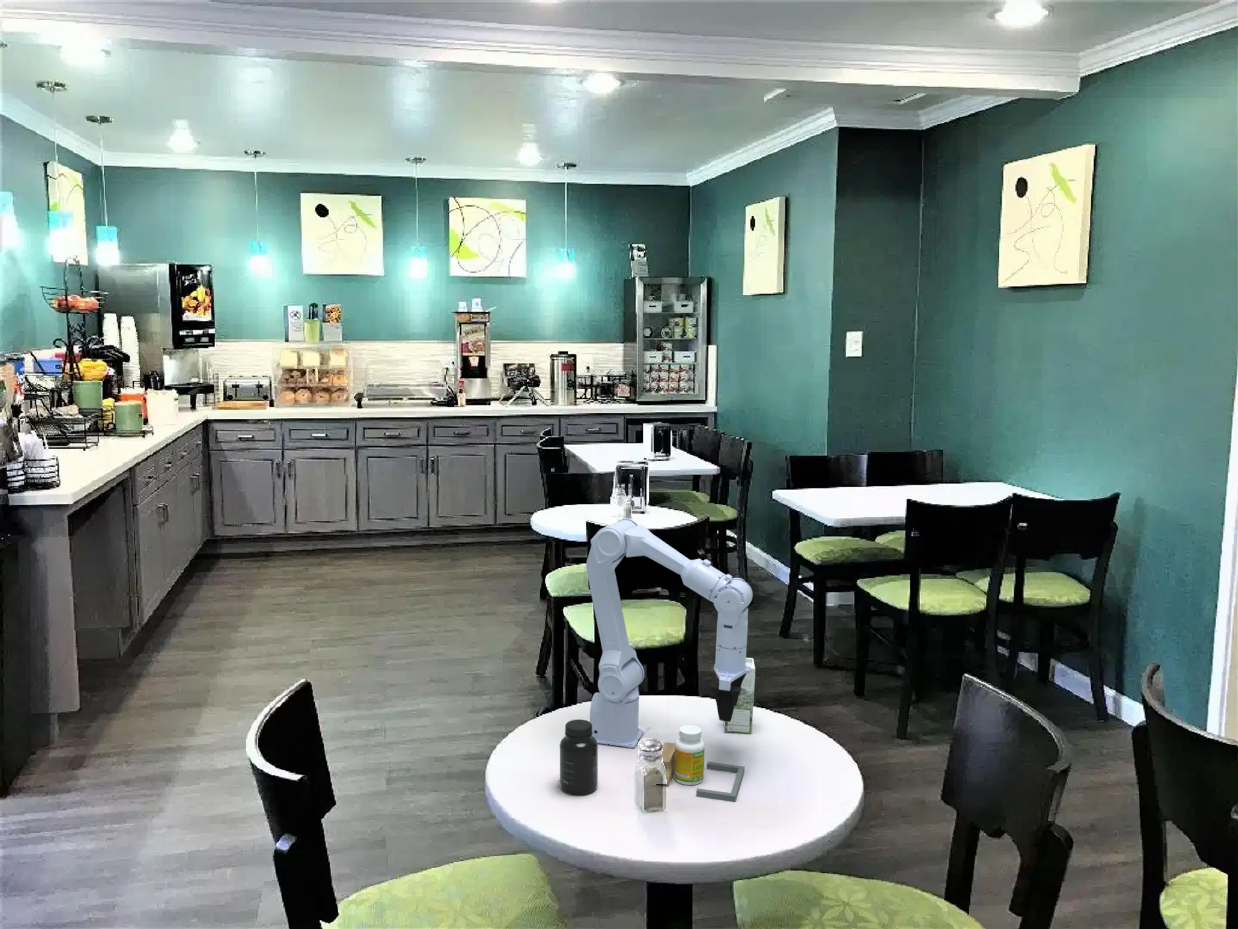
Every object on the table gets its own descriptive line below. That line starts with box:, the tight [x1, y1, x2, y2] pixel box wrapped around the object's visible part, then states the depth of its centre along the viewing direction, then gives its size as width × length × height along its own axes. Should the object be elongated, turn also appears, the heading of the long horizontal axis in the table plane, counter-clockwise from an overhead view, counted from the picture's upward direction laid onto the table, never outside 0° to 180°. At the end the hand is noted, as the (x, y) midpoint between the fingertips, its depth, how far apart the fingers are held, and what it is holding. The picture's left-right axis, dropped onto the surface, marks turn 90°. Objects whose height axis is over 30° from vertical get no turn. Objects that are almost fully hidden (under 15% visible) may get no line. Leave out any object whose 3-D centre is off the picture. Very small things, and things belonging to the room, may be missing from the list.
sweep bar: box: [662, 741, 676, 786], centre depth 186 cm, size 2×8×4 cm, turn 165°
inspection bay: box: [695, 761, 746, 803], centre depth 184 cm, size 7×12×1 cm, turn 165°
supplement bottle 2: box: [673, 724, 706, 786], centre depth 185 cm, size 5×5×10 cm
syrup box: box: [723, 657, 756, 734], centre depth 207 cm, size 6×6×14 cm
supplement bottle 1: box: [559, 719, 599, 796], centre depth 180 cm, size 7×7×12 cm
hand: (728, 712), depth 191 cm, fingers open, 7 cm apart
